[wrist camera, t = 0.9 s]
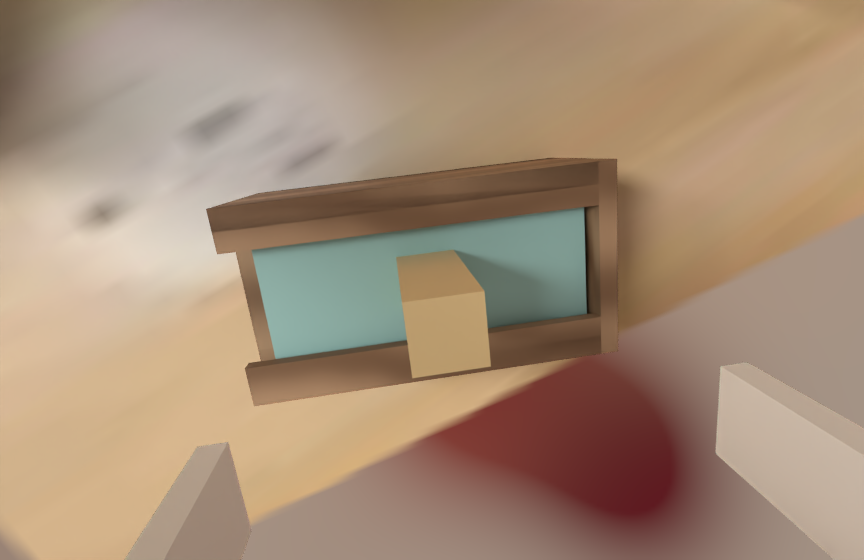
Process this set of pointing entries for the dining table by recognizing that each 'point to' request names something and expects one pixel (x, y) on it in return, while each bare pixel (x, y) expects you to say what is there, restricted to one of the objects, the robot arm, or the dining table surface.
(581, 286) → the cover plate
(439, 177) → the walnut box
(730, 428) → the robot arm
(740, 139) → the dining table surface
